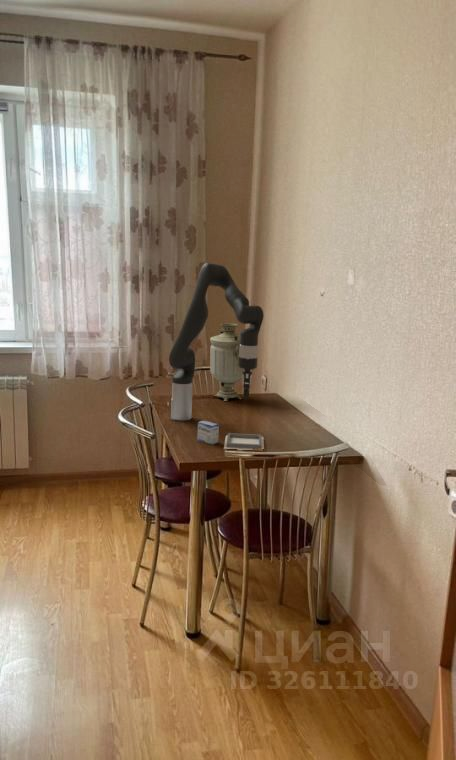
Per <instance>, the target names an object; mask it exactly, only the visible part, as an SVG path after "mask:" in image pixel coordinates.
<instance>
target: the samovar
mask: <svg viewBox="0 0 456 760" xmlns="http://www.w3.org/2000/svg"><path fill="white" fill-rule="evenodd" d="M220 326H221V327H222V330H221V331H220V334H218V335H214V336H211V337H210V338H209V340H210V343H211V345H210V346H209V347H210V351H209V352H210V354H209V355H210V356H209V357H210V359H209V361H210V362H209V363H210V364H209V369H210V370H209V373H210V375H211V376H212V378H214V379H215V380H216V381H218V382H220V386H221V387H222V389H220V390H219V391H217V393H216V394H215V395H213V396H217V397H219V398H222V399H223V402H224V401H228V400H229V399H230V398H231V399H233V398H237V399H239V400H242V397H240V396H239V395H238V392H236V390H235V389H233V388H234V387H235V383H237V382H239V381H241V380H243V377H242V373H243V371H245V369H244V368H243V369H242V368H239V366H238V362H239V347H240V335H239V334H238V333H236V332H235V331H236V328H237V326H238V324H237V323H231V322H230V323H221V324H220ZM252 370H255V369H251V371H252ZM228 402H229V401H228Z"/></svg>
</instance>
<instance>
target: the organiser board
mask: <svg viewBox="0 0 456 760" xmlns="http://www.w3.org/2000/svg"><path fill="white" fill-rule="evenodd" d="M264 441H265V439H264V436H262V434H254V433H233V432H232V433H231V432H228V433H227V435H225V440H224V444H223V445H224V447H223V450H226V449H237V450H236V451H242V450H253V449H252V448H258V449H264V450H265V445H264V444H265V442H264Z"/></svg>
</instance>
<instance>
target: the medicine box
mask: <svg viewBox="0 0 456 760" xmlns="http://www.w3.org/2000/svg"><path fill="white" fill-rule="evenodd" d="M219 428H220V424H219V423H215V422H211V421H208V420H201V421H199V422H197V438H196V439H197V440H196V441H198V442H202V443H205V444H209V445H215V444H217V443H219V435H220V434H219V433H220V431H219Z"/></svg>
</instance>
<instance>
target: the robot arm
mask: <svg viewBox="0 0 456 760" xmlns="http://www.w3.org/2000/svg"><path fill="white" fill-rule="evenodd" d="M210 286H212V287H220V288H221V289H222V290H224V297H225V301H226V302H227V304H228V305H229V306H230V307H231V308H232V309H233V312H234V313H235V314H234V315H235V317H236V319H237V321H238V322H239V323H241V324H243V325H249V326H248V327H247V328H245V329H243V330H241V331H240V335H239V336H240V347H239V362H238V366H239V368H242V369H243V368H244V369H245V371H243V373H242V377H243V378H242V385H243V386H242V388H243V393H242V394H243V399H249V398H250V389H251V385H252V378H253V371H252V369H254V370H255V369H257V368H258V359H259V358H258V357H259V356H258V355H259V349H258V346H259V345H258V344H259V343H258V342H259V333H260V331H261V327H262V325H263V324H262V323H263V321H264V316H265V315H264V310H263V308H262V307H261V306H260V305H250V301H249V299H248V297H246V295H245V294H244V293H243V292H242V291H241V290H240V289H239V288H238V286H237V285H236V283H235V281H234V280H233V277H232V276H231V274H230V273H229V271H228V269H227V268H226V267H225V266H224V265H222V264H217V263H211V262H206V263H204V264H203V265H202V266H201V268H200V271H199V274H198V277H197V280H196V284H195V288H194V292H193V295H192V298H191V300H190V301H191V302H190V303H189V306H188V309H187V311H186V314H185V316H184V320H183V323H182V325H181V328H180V330H179V333H178V336H177V337H176V340H175V341H174V344H173V346H172V347H171V350H170V353H169V355H168V356H169V357H168V363H169V365H170V367H171V368H173V369H177V372H176V373H174V374H173V375H172V378H171V381H172V382H171V398H170V400H171V401H170V404H171V405H170V420H174V421H189V420H191V419H192V412H193V411H192V409H193V407H192V405H193V379H194V376H195V368H196V367H195V366H196V355H195V351H194V350H193V349H192V348H191V347H190V346H191V344H192V342H193V341H194V340H195V339H196V338H197V337H198V335H200V333H201V332H202V330H203V329H204V327H205V325H206V322H207V319H208V317H209V309H208V303H207V300H206V299H207V298H206V297H207V296H206V295H207V292H208V289H209V287H210Z"/></svg>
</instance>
